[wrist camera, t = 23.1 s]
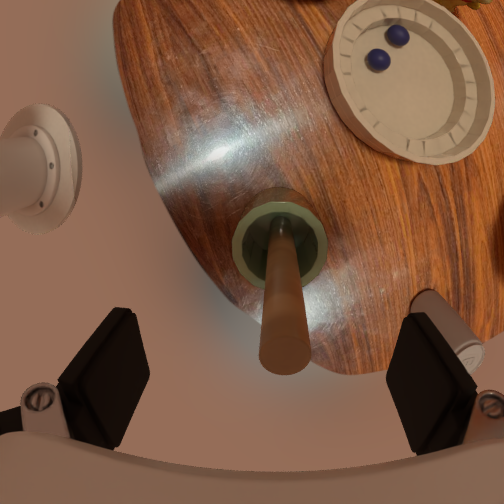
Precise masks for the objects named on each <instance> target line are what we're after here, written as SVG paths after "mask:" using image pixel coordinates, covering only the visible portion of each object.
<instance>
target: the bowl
mask: <svg viewBox="0 0 504 504" xmlns="http://www.w3.org/2000/svg"><path fill="white" fill-rule="evenodd" d="M392 25H400V26H403V27H404V28H406V29H407V31H408V32H409V35H410V39H409V42H408V43H407V44H406V45H403V46H397V45H395V44H393V43H392V42H391V41H390V40H389V39H388V37H387V30H388V28H389V27H390V26H392ZM376 48H378V49H382V50H384V51H386V52H387V53H388V54H389V56H390V58H391V64H390V66H389V68H388V69H386V70H384V71H377V70H375V69H373V68H372V67H371V66H370V65H369V64H368V61H367V55H368V53H369V52H370V51H371V50H372V49H376ZM323 61H324V79H325V84H326V87H327V90H328V93H329V97H330V100H331V102H332V104H333V106H334V108H335V109H336V111H337V113H338V114H339V116H340V118H341V120H342V121H343V122H344V123H345V124H346V125H347V127H348V128H349V129H350V130H351V131H352V132H353V133H354V134H355V135H356V136H357V137H358V138H359V139H360V140H362V141H363V142H364V143H366V144H367V145H369V146H370V147H372V148H373V149H374V150H376V151H378V152H380V153H383V154H386V155H388V156H391V157H393V158H396V159H401V160H407V161H412V162H417V163H425V164H432V165H442V164H447V163H453V162H457V161H459V160H461V159H462V158H464V157H466V156H468V155H470V154H471V153H473V151H474V150H475V149H476V148H477V147H478V146H479V145H480V144H481V142H482V141H483V140H484V139H485V137H486V135H487V133H488V130H489V128H490V126H491V124H492V120H493V114H494V108H495V93H494V81H493V78H492V74H491V71H490V67H489V64H488V61H487V59H486V57H485V55H484V53H483V51H482V49H481V47H480V45H479V43H478V42H477V40H476V39H475V38H474V36H473V35H472V34H471V32H470V31H469V30H468V29H467V28H466V26H465V25H464V24H463V23H462V22H461V21H460V20H459V19H458V18H457V17H455V16H454V15H453V14H452V13H451V12H450V11H448V10H447V9H446V8H445V7H443V6H441V5H439V4H438V3H436V2H434V1H432V0H357V1H356V2H354V3H353V4H351V5H350V6H349V7H348V8H347V10H346V11H345V13H344V14H343V15H342V17H341V18H340V20H339V21H338V23H337V25H336V27H335V29H334V31H333V32H332V34H331V36H330V38H329V40H328V43H327V47H326V51H325V55H324V60H323Z"/></svg>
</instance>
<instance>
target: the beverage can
mask: <svg viewBox="0 0 504 504" xmlns="http://www.w3.org/2000/svg"><path fill="white" fill-rule="evenodd" d="M416 312H425V313H426V314H427V315H428V317H429V318H430V319H431V321H432V322H433V323H434V325H435V326H436V327H437V329H438V330H439V331H440V333H441V334H442V335H443V337H444V338H445V340H446V341H447V342H448V344H449V345H450V347H451V348H452V349H453V351H454V352H455V354H456V355H457V356H458V358H459V359H460V361H461V362H462V364H463V365H464V367H465V368H466V370H467V371H468V373H469V374H470V375H471V374H472V373H473V372H475V371H476V370H477V368H478V367H479V366H480V364H481V363H482V361H483V359H484V355H485V350H484V347H483V345H482V343H481V341H480V340H479V339H478V337H477V336H476V335H475V334H474V333H473V331H472V330H471V329H470V328H469V326H468V325H467V324H466V323H465V322H464V321H463V319H462V318H461V317H460V316H459V315H458V314H457V312H456V311H455V310H454V309H453V308H452V307H451V306H450V305H449V304H448V303H447V301H446V300H445V299H444V298H443V297H442V296H441V295H440V294H439V293H438V292H436V291H433V290H428V291H424V292H422V293H421V294H419V295H418V296H417V297H416V298H415V299H414V301H413V303H412V306H411V309H410V313H416Z"/></svg>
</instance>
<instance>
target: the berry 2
mask: <svg viewBox="0 0 504 504" xmlns="http://www.w3.org/2000/svg"><path fill="white" fill-rule="evenodd" d="M387 37H388V39H389V40H390V41H391V42H392V43H393V44H395V45H397V46H403V45H406V44H407V43H408V42H409V39H410V35H409V32H408V31H407V29H406V28H404V27H403V26H400V25H392V26H390V27H389V28H388V30H387Z"/></svg>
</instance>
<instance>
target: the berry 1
mask: <svg viewBox="0 0 504 504" xmlns="http://www.w3.org/2000/svg"><path fill="white" fill-rule="evenodd" d="M367 61H368V64H369V65H370V66H371V67H372V68H373V69H375V70H377V71H384V70H386V69H388V68H389V66H390V64H391V58H390V56H389V54H388V53H387V52H386V51H384V50H382V49H378V48H376V49H372V50H371V51H370V52H369V53H368V55H367Z"/></svg>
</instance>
